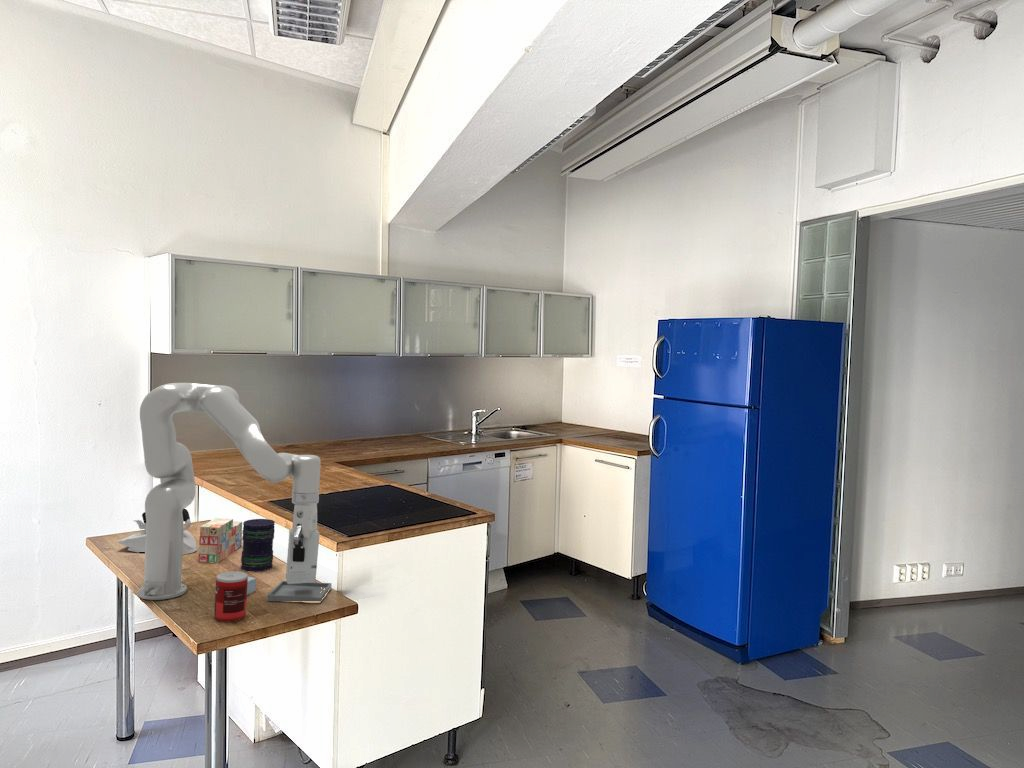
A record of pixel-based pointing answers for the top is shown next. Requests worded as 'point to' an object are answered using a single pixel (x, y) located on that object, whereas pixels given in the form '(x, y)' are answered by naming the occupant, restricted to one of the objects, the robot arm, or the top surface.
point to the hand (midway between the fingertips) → (302, 557)
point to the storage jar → (257, 544)
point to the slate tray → (298, 592)
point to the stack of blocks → (219, 539)
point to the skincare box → (306, 569)
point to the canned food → (230, 596)
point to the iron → (139, 540)
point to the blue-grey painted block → (251, 585)
